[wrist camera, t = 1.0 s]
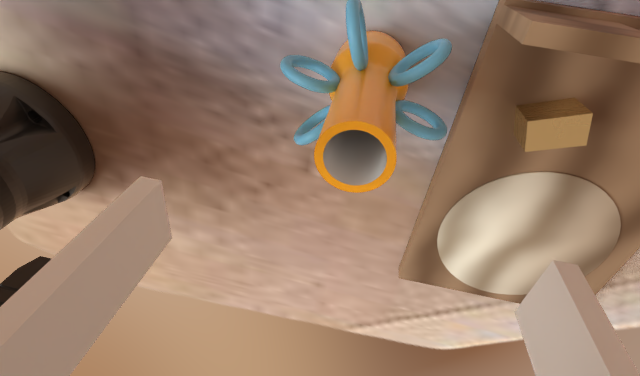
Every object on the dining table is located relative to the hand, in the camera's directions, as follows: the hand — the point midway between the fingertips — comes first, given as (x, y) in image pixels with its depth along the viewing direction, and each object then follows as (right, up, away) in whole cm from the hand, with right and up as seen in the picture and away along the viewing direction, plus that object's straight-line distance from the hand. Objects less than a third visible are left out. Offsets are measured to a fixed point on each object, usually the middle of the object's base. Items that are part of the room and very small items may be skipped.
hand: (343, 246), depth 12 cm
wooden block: (+17, +8, +15) cm, 24 cm away
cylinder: (+3, +12, +17) cm, 21 cm away
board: (+20, +2, +21) cm, 29 cm away
